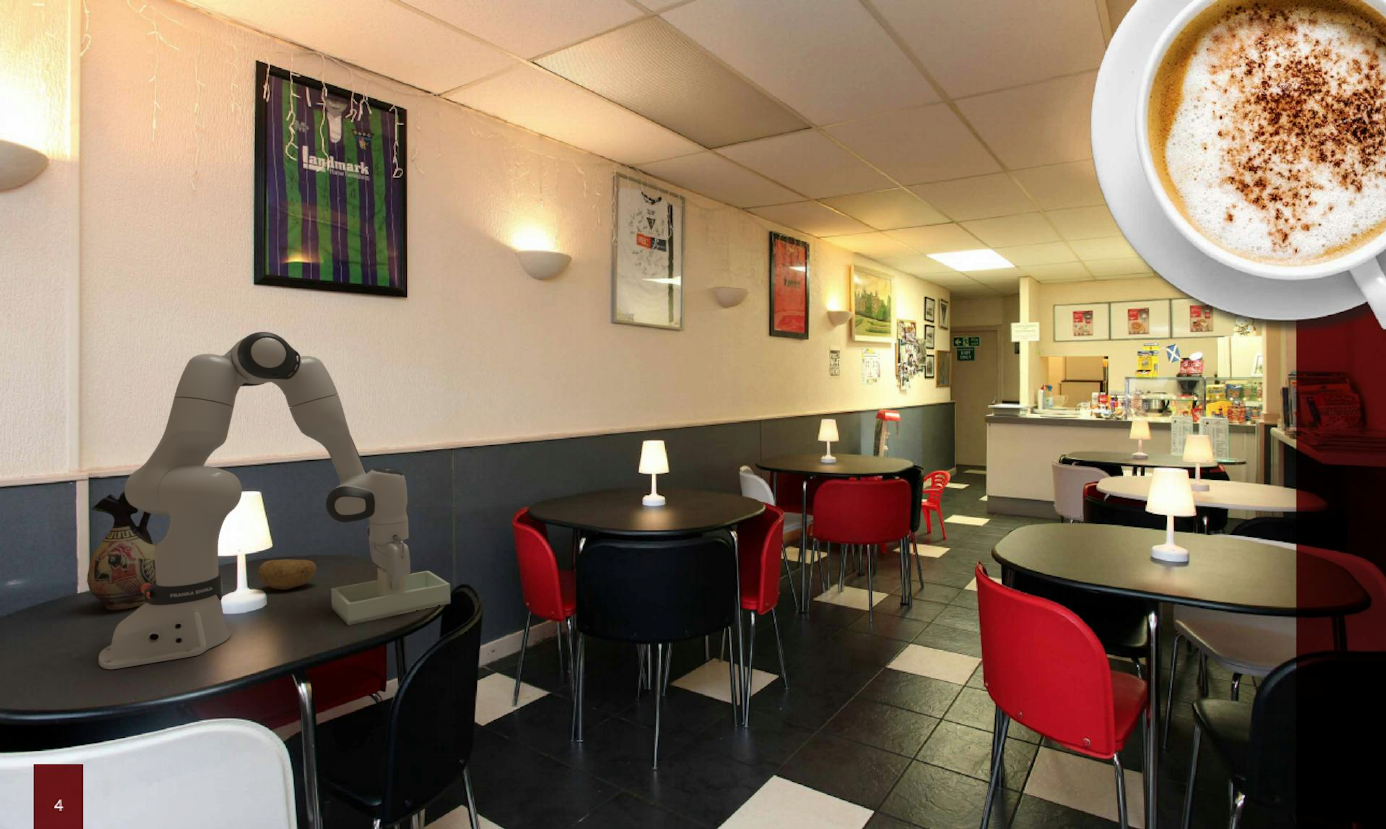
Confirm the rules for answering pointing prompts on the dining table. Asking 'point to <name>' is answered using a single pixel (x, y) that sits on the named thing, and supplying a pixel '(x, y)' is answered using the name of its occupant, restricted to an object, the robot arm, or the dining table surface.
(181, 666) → the dining table surface
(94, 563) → the ceramic jug
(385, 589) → the carton
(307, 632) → the dining table surface
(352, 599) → the tote
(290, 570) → the potato
